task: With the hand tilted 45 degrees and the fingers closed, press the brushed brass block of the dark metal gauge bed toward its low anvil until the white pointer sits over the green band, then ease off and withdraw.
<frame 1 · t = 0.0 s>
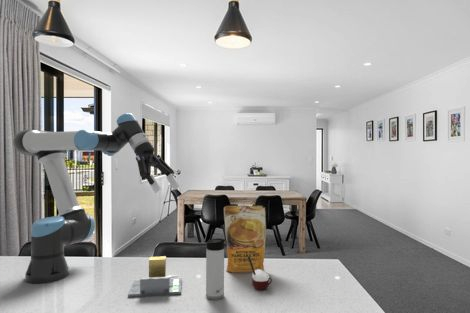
hand: (167, 189, 126), 36 cm above the kitchen island, tool tilted 35°, fingers open, 13 cm apart
brushed brass block: (163, 269, 122), point 6 cm above the kitchen island, slide at 0.0 cm
pancake mix bag: (244, 270, 138), on the kitchen island
cocoa: (259, 288, 119), on the kitchen island
travel mug: (215, 296, 111), on the kitchen island
gauge bed: (156, 288, 118), on the kitchen island
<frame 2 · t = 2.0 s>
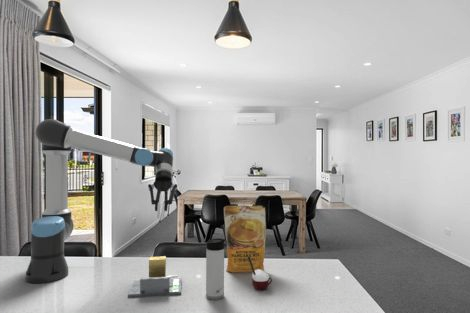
hand: (160, 216, 133), 24 cm above the kitchen island, tool tilted 45°, fingers closed
nothing on the kitchen island moved.
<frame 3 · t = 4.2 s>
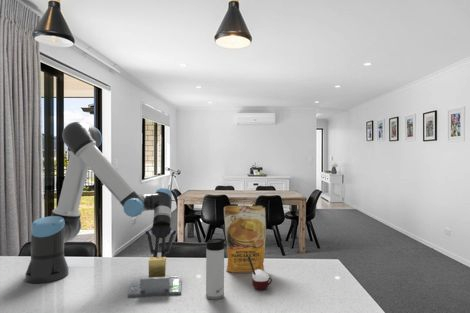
hand: (158, 269, 124), 5 cm above the kitchen island, tool tilted 45°, fingers closed
brushed brass block: (163, 270, 121), point 6 cm above the kitchen island, slide at 0.7 cm, touching gripper
everything else where it was.
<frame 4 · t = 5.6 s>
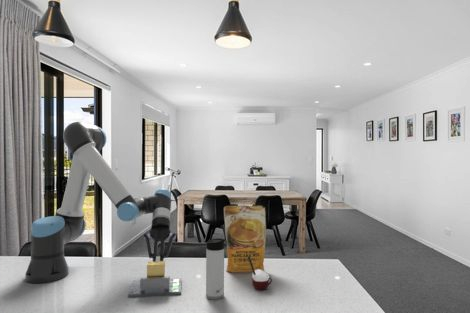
hand: (157, 274, 119), 5 cm above the kitchen island, tool tilted 45°, fingers closed
brushed brass block: (162, 275, 116), point 6 cm above the kitchen island, slide at 6.0 cm, touching gripper
everything else where it was.
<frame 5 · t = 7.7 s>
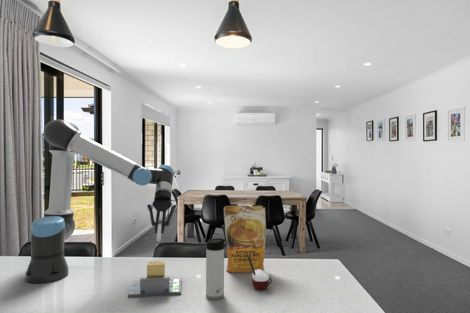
hand: (158, 239, 132), 15 cm above the kitchen island, tool tilted 40°, fingers closed
brushed brass block: (162, 275, 116), point 6 cm above the kitchen island, slide at 6.0 cm
everything else where it was.
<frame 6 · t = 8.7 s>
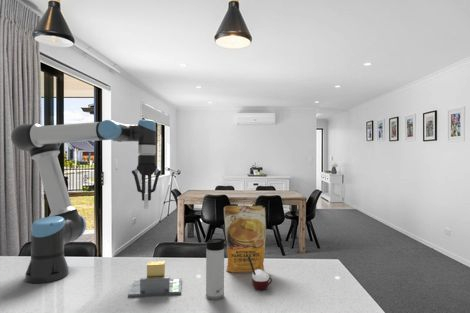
hand: (146, 207, 141), 26 cm above the kitchen island, tool pointing down, fingers closed
nothing on the kitchen island moved.
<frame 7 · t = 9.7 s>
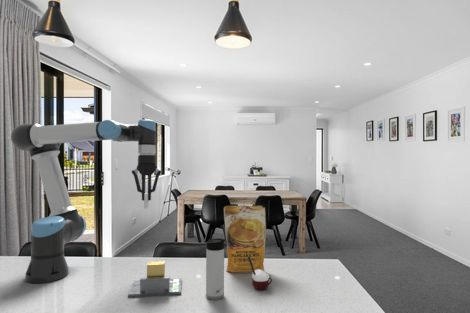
hand: (146, 207, 141), 26 cm above the kitchen island, tool pointing down, fingers closed
nothing on the kitchen island moved.
at the end: brushed brass block slide at 6.0 cm; the gripper is holding nothing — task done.
